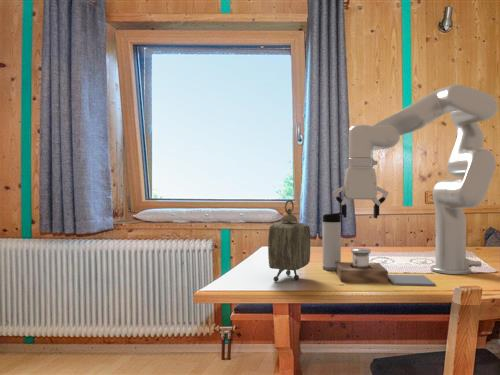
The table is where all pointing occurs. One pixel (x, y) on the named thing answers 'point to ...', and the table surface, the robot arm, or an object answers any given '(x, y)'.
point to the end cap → (360, 257)
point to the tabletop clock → (288, 244)
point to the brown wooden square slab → (362, 273)
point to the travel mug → (331, 241)
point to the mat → (410, 280)
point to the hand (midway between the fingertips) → (360, 217)
